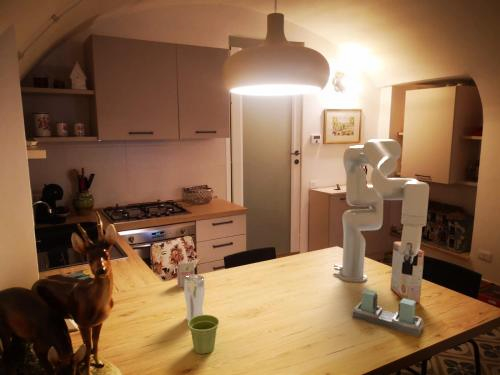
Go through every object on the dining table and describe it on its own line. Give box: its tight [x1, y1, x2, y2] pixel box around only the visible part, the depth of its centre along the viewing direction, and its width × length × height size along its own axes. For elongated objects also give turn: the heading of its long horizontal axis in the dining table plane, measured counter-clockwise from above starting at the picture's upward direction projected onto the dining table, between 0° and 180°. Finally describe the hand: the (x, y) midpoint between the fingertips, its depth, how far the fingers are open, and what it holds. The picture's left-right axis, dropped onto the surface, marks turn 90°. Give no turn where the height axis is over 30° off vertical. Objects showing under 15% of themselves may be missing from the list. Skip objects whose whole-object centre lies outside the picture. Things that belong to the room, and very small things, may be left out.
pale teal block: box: [397, 298, 416, 324], centre depth 126 cm, size 4×4×7 cm
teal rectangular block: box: [360, 288, 379, 313], centre depth 133 cm, size 4×4×7 cm
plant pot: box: [187, 314, 220, 355], centre depth 113 cm, size 9×9×9 cm
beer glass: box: [183, 274, 205, 322], centre depth 130 cm, size 7×7×15 cm
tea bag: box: [176, 261, 196, 289], centre depth 159 cm, size 4×7×10 cm, turn 110°
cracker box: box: [389, 241, 425, 304], centre depth 150 cm, size 14×6×21 cm, turn 5°
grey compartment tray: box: [351, 301, 424, 338], centre depth 130 cm, size 22×7×4 cm, turn 55°
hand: (409, 269), depth 124 cm, fingers open, 9 cm apart
